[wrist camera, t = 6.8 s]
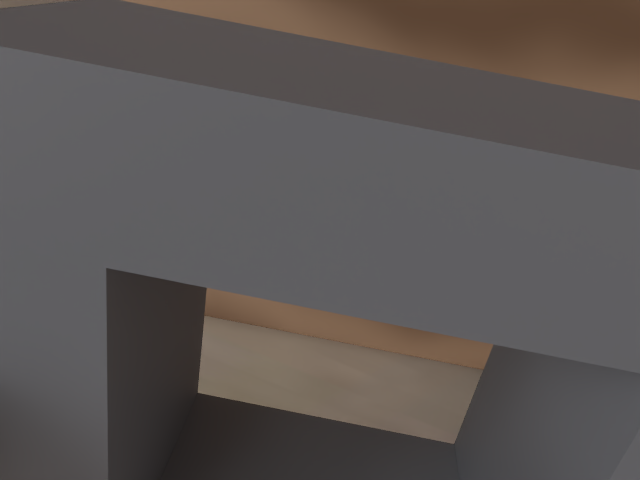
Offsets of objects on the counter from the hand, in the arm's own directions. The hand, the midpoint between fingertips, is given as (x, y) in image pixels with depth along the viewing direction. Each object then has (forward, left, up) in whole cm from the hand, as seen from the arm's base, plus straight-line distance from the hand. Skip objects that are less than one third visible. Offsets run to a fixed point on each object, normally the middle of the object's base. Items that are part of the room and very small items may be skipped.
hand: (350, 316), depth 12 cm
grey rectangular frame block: (+3, 0, 0) cm, 3 cm away
